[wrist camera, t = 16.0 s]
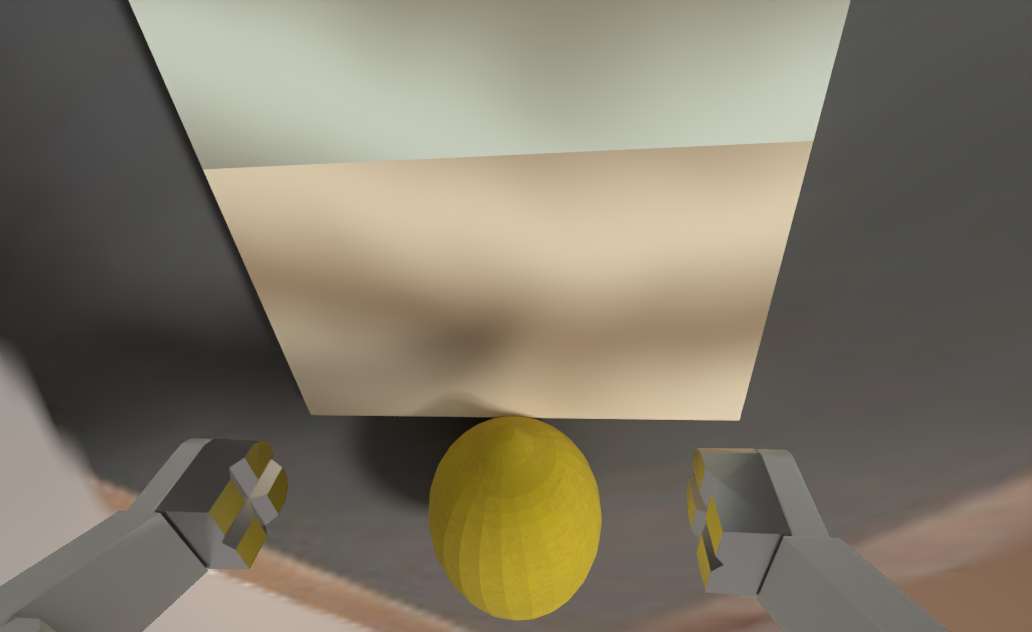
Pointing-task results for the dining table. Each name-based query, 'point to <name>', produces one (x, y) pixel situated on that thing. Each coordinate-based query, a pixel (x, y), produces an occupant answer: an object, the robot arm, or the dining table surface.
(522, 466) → the lemon
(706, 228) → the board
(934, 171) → the dining table surface
